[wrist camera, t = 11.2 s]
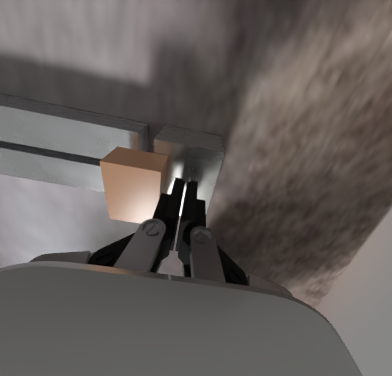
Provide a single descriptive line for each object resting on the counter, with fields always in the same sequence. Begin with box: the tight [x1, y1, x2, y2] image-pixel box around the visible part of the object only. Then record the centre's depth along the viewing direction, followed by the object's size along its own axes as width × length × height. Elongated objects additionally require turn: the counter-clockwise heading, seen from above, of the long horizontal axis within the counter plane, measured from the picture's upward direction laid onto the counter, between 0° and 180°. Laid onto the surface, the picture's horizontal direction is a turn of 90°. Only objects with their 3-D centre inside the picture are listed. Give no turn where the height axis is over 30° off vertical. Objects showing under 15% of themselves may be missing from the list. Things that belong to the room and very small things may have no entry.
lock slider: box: [100, 146, 168, 224], centre depth 12 cm, size 4×5×2 cm
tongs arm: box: [0, 141, 105, 192], centre depth 15 cm, size 20×3×3 cm, turn 79°
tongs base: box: [0, 94, 225, 216], centre depth 14 cm, size 27×7×4 cm, turn 79°
